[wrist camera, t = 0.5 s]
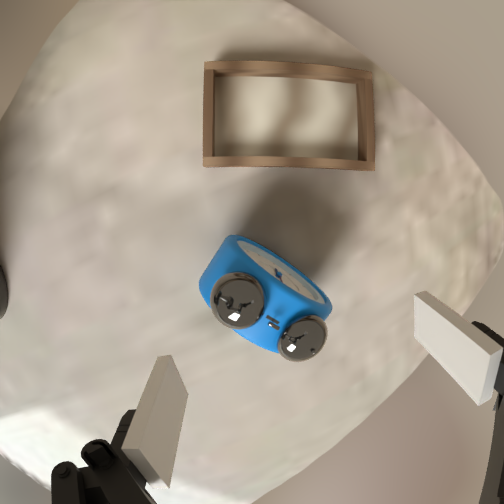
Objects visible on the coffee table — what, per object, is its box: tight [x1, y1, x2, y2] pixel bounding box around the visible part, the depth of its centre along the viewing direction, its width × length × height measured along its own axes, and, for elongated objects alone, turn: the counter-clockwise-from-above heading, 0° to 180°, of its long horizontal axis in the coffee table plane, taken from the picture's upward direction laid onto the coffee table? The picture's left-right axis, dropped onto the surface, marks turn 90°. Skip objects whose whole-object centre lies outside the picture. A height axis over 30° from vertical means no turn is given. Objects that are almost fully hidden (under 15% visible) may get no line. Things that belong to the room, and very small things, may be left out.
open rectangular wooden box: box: [203, 61, 375, 171], centre depth 33 cm, size 19×12×4 cm, turn 90°
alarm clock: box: [199, 235, 332, 362], centre depth 32 cm, size 13×6×15 cm, turn 56°
